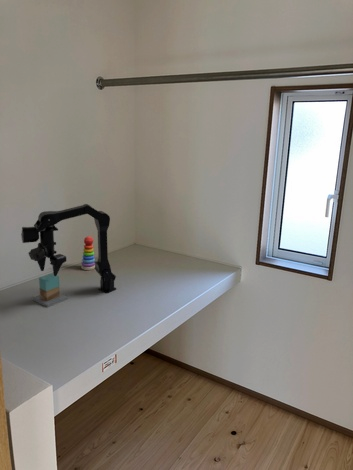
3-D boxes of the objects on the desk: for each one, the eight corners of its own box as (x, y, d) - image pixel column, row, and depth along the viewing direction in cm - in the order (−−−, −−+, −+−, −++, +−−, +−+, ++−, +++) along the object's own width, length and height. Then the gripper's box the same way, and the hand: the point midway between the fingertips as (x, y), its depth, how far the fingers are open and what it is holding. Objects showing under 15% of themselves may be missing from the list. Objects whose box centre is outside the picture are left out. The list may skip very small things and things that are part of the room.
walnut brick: (59, 296, 175) (59, 286, 174) (47, 301, 170) (46, 291, 168) (52, 293, 178) (52, 283, 177) (40, 298, 172) (39, 288, 171)
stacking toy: (92, 271, 210) (91, 239, 205) (78, 269, 211) (78, 237, 206) (97, 266, 217) (97, 235, 212) (84, 265, 219) (84, 234, 214)
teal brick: (59, 286, 174) (58, 276, 172) (46, 291, 168) (45, 280, 167) (52, 283, 177) (52, 273, 175) (39, 287, 171) (39, 277, 170)
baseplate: (67, 298, 176) (67, 296, 175) (47, 307, 167) (47, 304, 166) (52, 292, 181) (52, 290, 181) (32, 300, 173) (32, 297, 172)
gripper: (18, 240, 165) (20, 273, 169) (44, 249, 155) (46, 284, 159) (40, 235, 174) (41, 266, 178) (66, 243, 164) (67, 276, 168)
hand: (48, 273), depth 171 cm, fingers open, 9 cm apart
